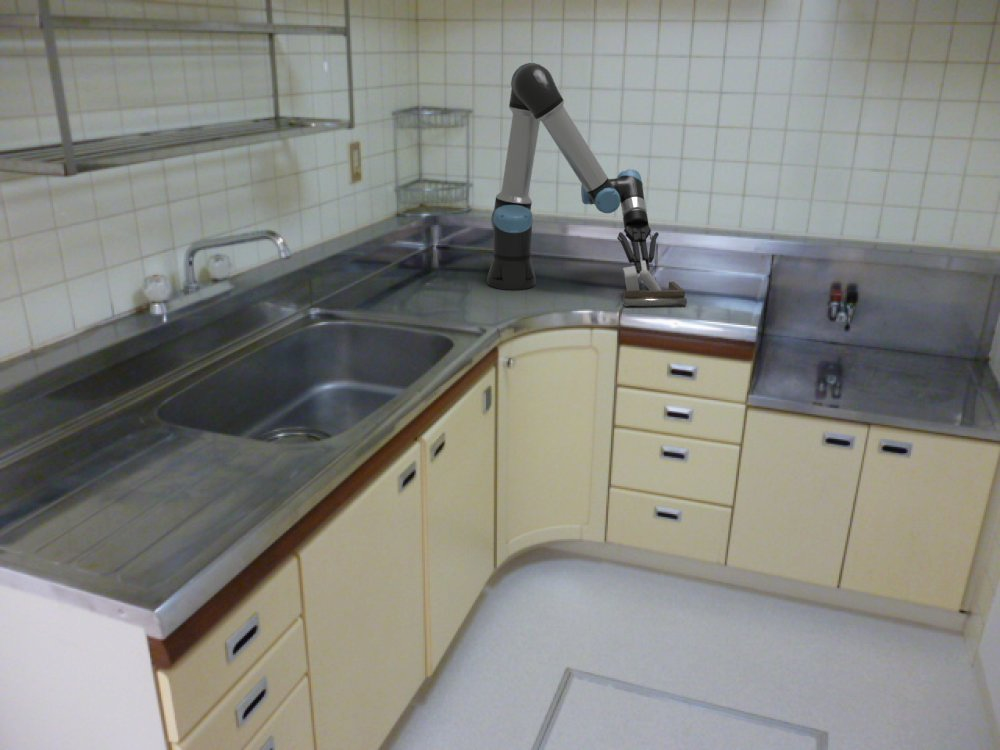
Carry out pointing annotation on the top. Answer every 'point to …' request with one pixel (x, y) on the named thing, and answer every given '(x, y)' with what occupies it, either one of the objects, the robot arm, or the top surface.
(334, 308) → the top surface
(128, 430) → the top surface
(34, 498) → the top surface
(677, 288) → the hinge bracket
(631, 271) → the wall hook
